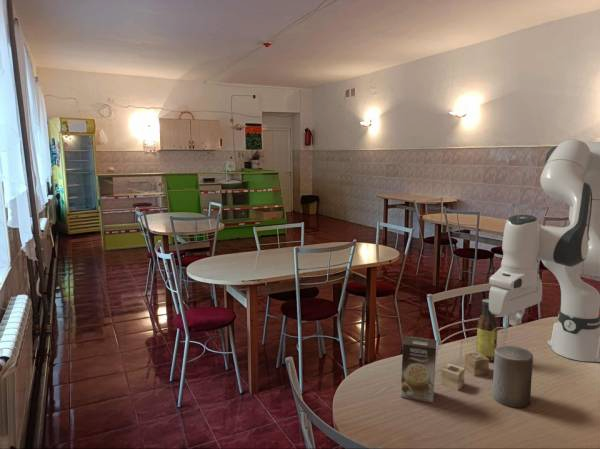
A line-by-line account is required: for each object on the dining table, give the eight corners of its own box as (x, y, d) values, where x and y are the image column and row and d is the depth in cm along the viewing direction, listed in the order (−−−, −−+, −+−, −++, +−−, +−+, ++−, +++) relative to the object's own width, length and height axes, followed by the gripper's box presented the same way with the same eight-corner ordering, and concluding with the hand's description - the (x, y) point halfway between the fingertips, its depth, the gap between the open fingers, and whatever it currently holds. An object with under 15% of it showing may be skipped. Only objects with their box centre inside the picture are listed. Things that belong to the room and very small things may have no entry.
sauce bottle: (498, 362, 144) (501, 304, 141) (477, 361, 145) (481, 303, 142) (493, 354, 150) (496, 298, 147) (474, 352, 151) (477, 297, 148)
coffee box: (399, 397, 123) (401, 343, 121) (402, 386, 129) (403, 334, 127) (433, 403, 120) (435, 348, 118) (434, 391, 126) (436, 338, 124)
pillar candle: (538, 404, 119) (542, 352, 117) (510, 411, 116) (514, 357, 114) (510, 387, 128) (513, 338, 126) (483, 393, 125) (486, 343, 123)
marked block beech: (447, 378, 134) (448, 362, 133) (463, 384, 130) (464, 367, 130) (440, 385, 130) (441, 368, 129) (457, 390, 127) (458, 374, 126)
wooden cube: (478, 367, 141) (479, 351, 140) (488, 374, 136) (489, 358, 135) (464, 368, 140) (465, 353, 139) (474, 376, 135) (475, 360, 134)
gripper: (528, 267, 126) (524, 312, 128) (485, 279, 115) (482, 328, 117) (550, 271, 121) (546, 319, 123) (508, 284, 110) (504, 336, 112)
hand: (515, 324), depth 120 cm, fingers closed
